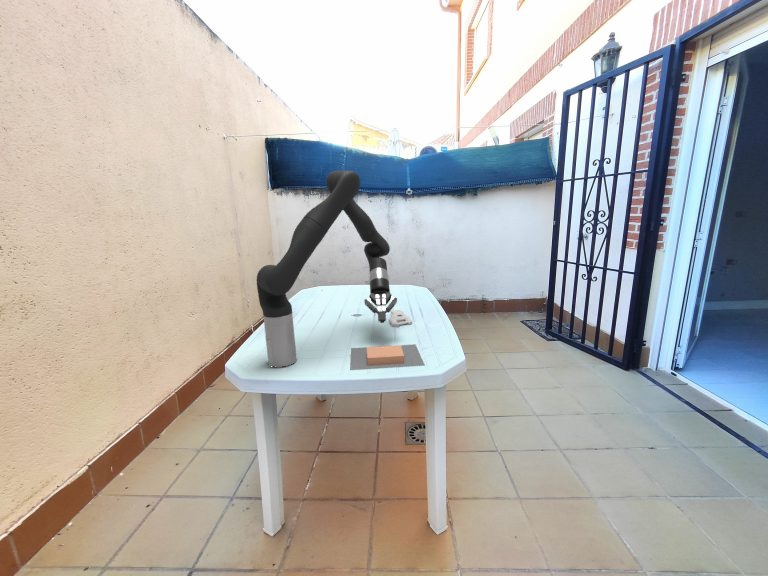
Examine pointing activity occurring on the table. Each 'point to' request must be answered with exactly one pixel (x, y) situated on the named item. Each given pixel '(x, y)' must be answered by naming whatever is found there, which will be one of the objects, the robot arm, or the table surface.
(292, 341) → the robot arm
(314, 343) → the table surface
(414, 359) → the mat
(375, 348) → the tile
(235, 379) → the table surface
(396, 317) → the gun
